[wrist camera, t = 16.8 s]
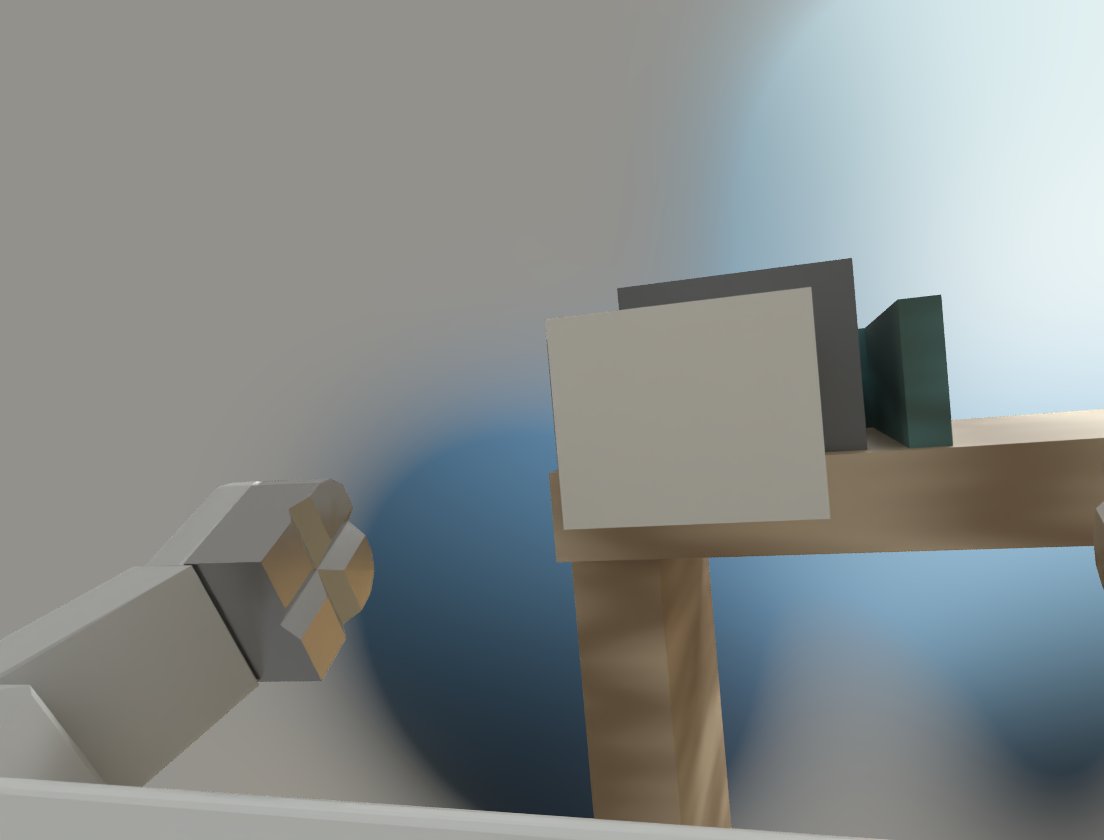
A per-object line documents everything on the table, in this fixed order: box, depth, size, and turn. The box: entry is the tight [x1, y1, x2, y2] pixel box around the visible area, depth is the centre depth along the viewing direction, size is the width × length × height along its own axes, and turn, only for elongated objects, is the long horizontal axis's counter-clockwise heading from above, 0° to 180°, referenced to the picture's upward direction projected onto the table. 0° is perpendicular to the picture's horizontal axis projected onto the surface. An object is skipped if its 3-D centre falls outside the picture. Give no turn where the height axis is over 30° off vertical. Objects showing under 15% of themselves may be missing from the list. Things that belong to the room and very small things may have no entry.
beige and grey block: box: [545, 258, 868, 530], centre depth 17 cm, size 16×5×4 cm, turn 163°
